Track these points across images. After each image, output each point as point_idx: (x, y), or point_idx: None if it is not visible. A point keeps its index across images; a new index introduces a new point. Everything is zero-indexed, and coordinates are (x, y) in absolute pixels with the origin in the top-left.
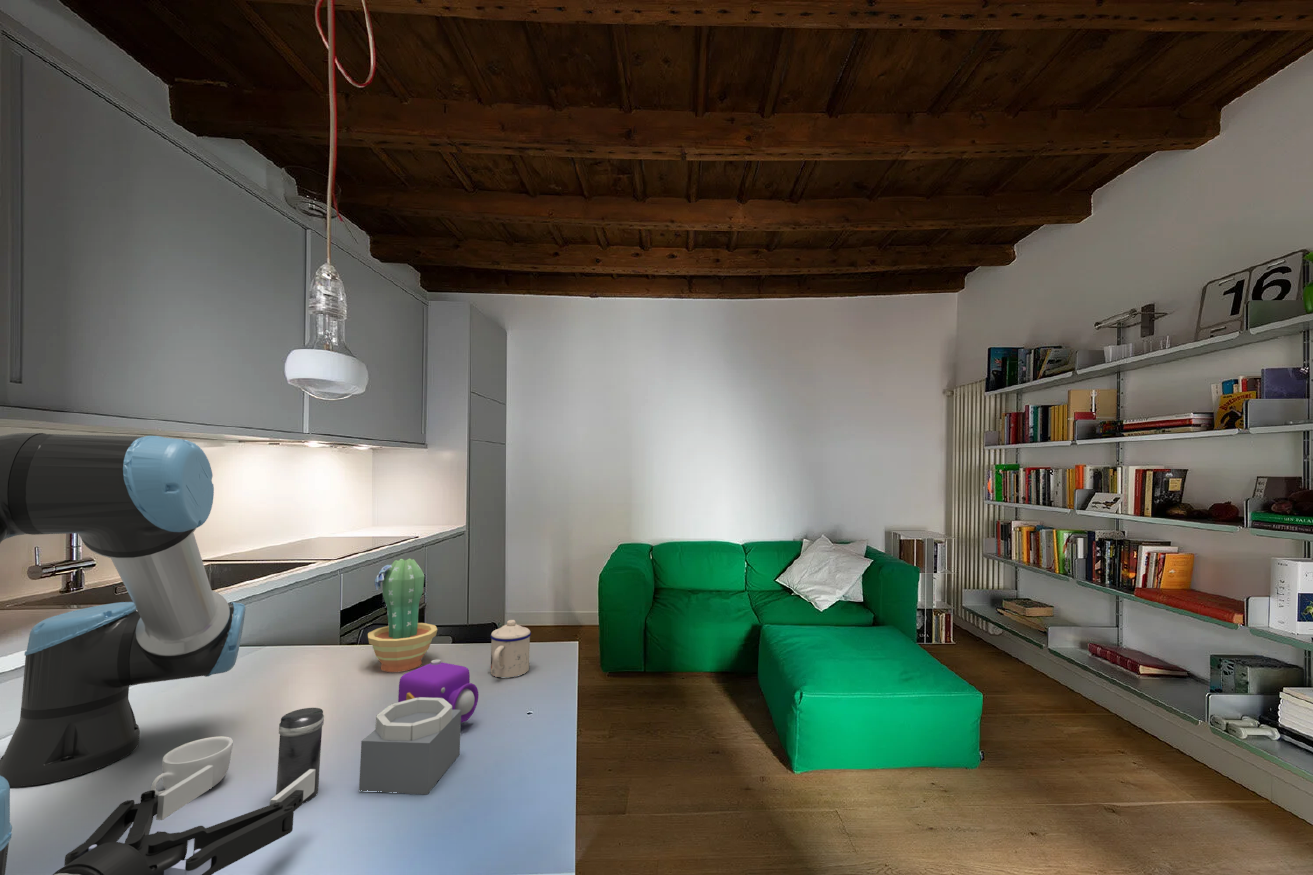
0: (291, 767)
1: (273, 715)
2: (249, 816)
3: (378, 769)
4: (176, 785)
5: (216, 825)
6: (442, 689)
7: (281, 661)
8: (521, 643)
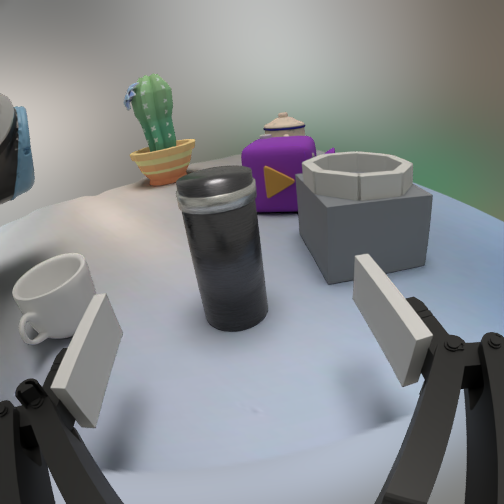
0: (237, 269)
1: (87, 235)
2: (448, 401)
3: (358, 247)
4: (69, 353)
5: (405, 472)
6: (313, 154)
7: (59, 204)
8: (302, 131)
